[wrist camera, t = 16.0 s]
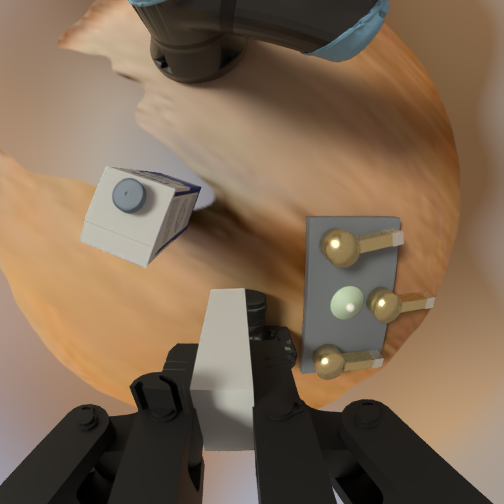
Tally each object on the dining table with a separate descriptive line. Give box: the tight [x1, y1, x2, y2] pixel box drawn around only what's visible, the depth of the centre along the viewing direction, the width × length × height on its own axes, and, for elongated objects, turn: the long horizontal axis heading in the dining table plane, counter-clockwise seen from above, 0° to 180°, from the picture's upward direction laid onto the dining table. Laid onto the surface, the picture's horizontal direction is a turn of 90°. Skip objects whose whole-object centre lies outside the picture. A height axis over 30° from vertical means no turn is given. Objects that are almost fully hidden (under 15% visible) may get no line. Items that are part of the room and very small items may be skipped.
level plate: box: [299, 216, 400, 374], centre depth 43 cm, size 28×16×3 cm, turn 1°
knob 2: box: [312, 344, 384, 380], centre depth 43 cm, size 12×5×4 cm, turn 87°
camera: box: [245, 289, 297, 368], centre depth 40 cm, size 14×11×10 cm
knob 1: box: [319, 228, 404, 268], centre depth 38 cm, size 12×5×4 cm, turn 101°
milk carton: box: [80, 166, 201, 268], centre depth 30 cm, size 7×7×20 cm
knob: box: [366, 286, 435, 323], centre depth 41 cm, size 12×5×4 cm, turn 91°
